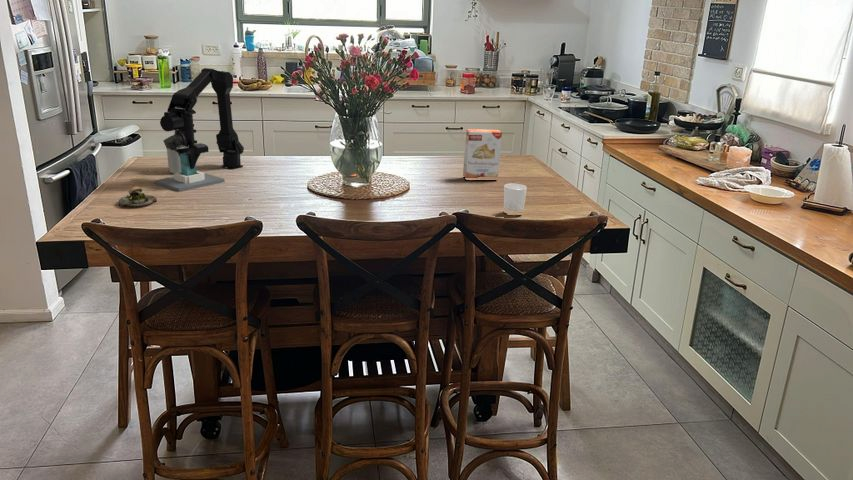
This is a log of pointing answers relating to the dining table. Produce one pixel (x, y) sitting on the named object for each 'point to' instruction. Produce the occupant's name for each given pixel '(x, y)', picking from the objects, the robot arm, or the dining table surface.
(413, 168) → the dining table surface
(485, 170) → the cracker box
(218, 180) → the holder
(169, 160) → the can
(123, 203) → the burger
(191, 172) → the peg
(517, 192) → the white cup
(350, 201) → the dining table surface
